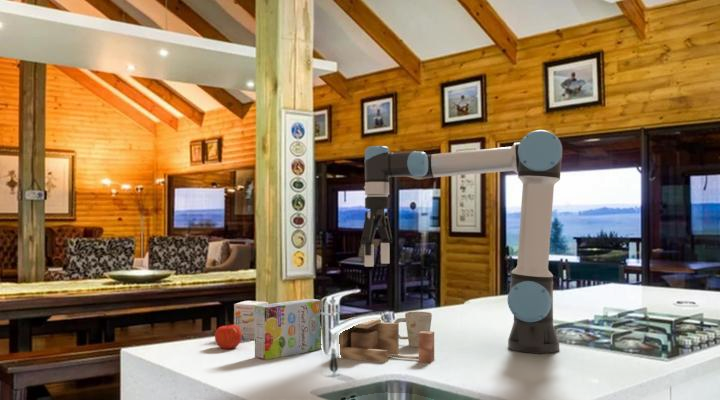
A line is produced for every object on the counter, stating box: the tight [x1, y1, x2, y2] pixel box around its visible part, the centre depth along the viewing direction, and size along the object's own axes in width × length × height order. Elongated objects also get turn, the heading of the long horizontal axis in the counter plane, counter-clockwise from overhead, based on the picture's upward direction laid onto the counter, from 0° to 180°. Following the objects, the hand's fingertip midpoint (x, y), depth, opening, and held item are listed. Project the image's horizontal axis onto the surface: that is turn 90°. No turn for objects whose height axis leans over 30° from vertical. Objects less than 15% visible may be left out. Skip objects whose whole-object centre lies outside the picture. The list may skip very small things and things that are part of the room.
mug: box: [393, 311, 433, 348], centre depth 202 cm, size 8×13×10 cm, turn 78°
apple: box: [214, 321, 242, 350], centre depth 197 cm, size 8×8×8 cm
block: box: [351, 329, 435, 364], centre depth 183 cm, size 23×6×8 cm, turn 68°
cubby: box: [339, 316, 400, 363], centre depth 186 cm, size 14×11×10 cm
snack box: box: [254, 298, 323, 360], centre depth 190 cm, size 21×6×15 cm, turn 134°
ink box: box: [233, 300, 269, 341], centre depth 215 cm, size 9×8×12 cm
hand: (377, 265), depth 199 cm, fingers open, 13 cm apart
